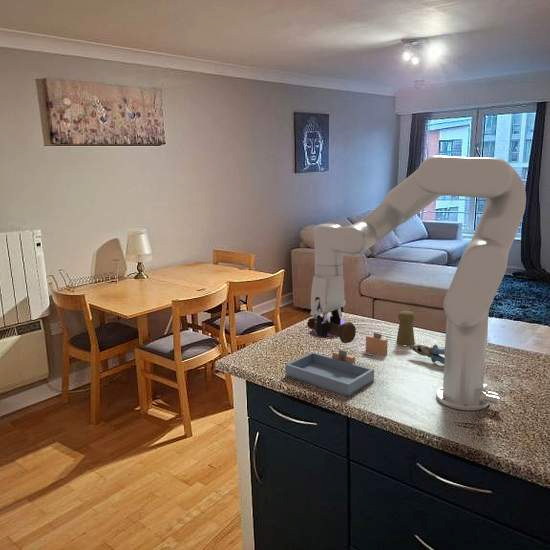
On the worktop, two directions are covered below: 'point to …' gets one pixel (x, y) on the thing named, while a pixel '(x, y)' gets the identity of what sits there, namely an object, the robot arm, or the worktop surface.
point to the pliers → (430, 352)
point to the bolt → (337, 330)
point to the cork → (406, 328)
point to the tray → (330, 373)
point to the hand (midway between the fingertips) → (328, 332)
